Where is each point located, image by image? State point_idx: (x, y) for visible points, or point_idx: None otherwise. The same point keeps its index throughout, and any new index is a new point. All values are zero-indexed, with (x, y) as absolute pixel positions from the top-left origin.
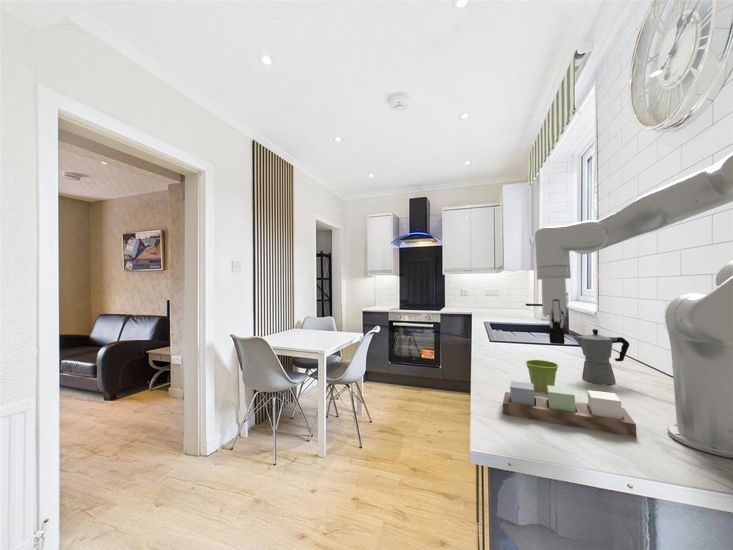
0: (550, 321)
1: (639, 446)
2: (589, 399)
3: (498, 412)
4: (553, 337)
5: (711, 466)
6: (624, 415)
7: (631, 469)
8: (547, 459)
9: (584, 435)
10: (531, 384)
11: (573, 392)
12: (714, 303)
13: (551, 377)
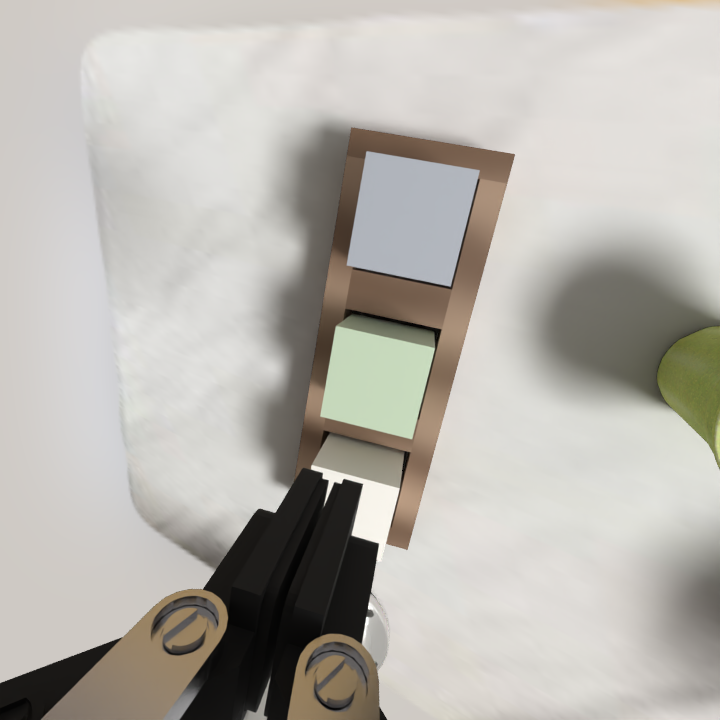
0: (65, 705)
1: (255, 474)
2: (364, 464)
3: (379, 123)
4: (250, 523)
5: (214, 553)
6: None
7: (144, 406)
8: (112, 237)
9: (274, 374)
10: (433, 273)
11: (353, 424)
12: None
13: (697, 429)
